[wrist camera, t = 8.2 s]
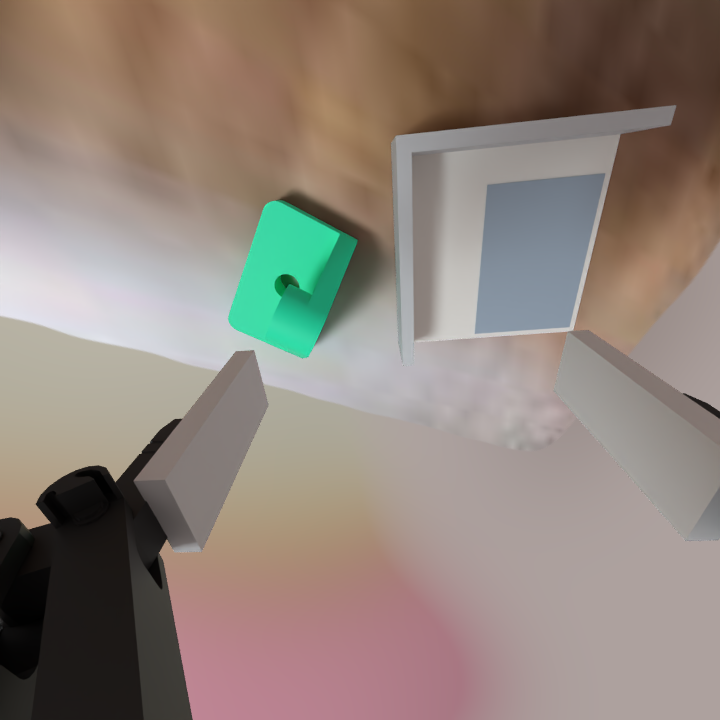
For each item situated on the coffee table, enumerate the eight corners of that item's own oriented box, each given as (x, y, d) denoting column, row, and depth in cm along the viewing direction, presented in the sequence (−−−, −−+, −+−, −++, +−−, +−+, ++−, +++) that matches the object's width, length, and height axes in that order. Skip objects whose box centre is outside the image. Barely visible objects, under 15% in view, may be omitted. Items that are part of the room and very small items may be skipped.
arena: (398, 341, 33) (402, 366, 29) (390, 143, 25) (396, 135, 21) (570, 329, 32) (602, 352, 28) (621, 118, 24) (676, 104, 20)
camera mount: (276, 194, 27) (231, 201, 18) (357, 237, 29) (353, 264, 20) (235, 314, 33) (185, 366, 24) (306, 346, 34) (284, 405, 25)
